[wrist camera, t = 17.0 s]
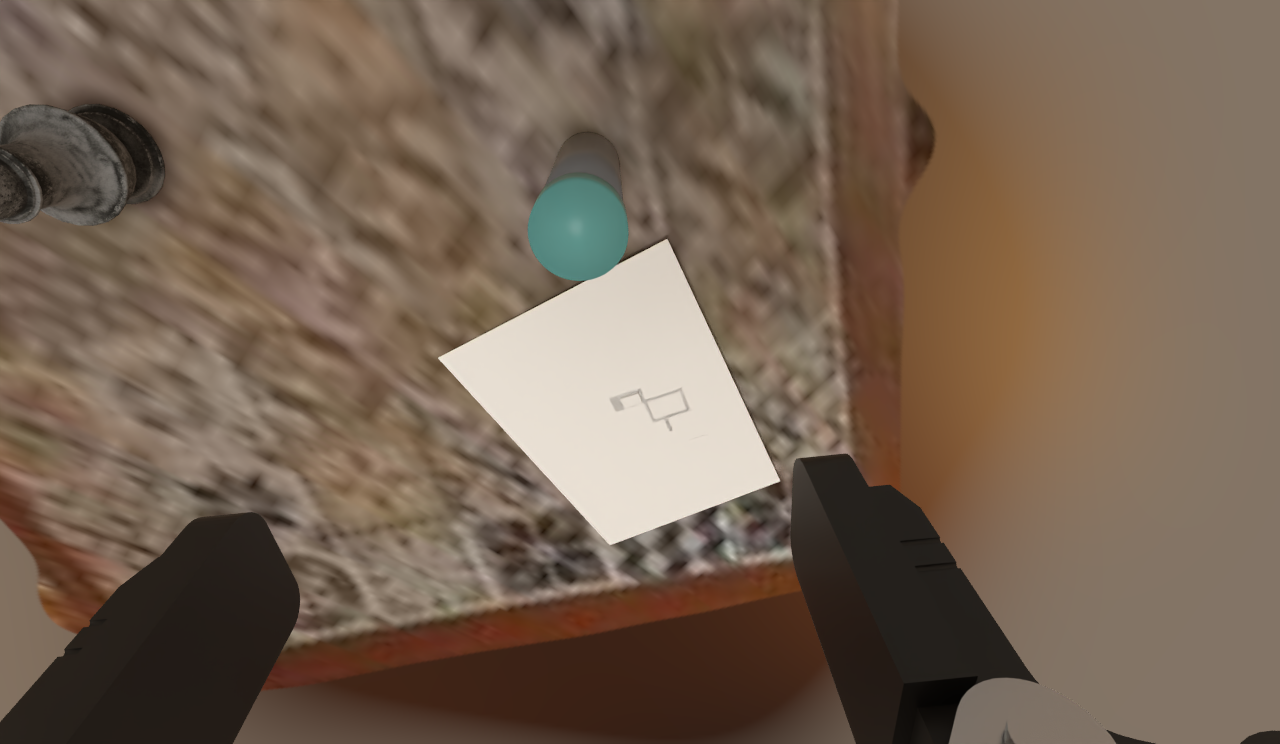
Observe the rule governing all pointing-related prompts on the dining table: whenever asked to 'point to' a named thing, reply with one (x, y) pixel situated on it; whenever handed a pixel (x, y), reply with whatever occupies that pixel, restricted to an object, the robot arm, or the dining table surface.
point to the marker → (581, 211)
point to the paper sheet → (621, 398)
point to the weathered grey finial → (75, 164)
